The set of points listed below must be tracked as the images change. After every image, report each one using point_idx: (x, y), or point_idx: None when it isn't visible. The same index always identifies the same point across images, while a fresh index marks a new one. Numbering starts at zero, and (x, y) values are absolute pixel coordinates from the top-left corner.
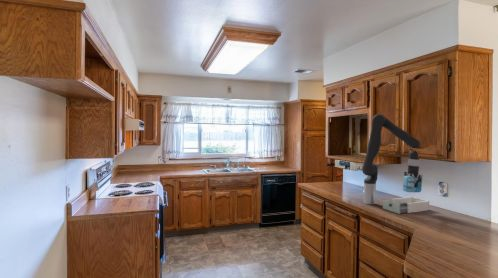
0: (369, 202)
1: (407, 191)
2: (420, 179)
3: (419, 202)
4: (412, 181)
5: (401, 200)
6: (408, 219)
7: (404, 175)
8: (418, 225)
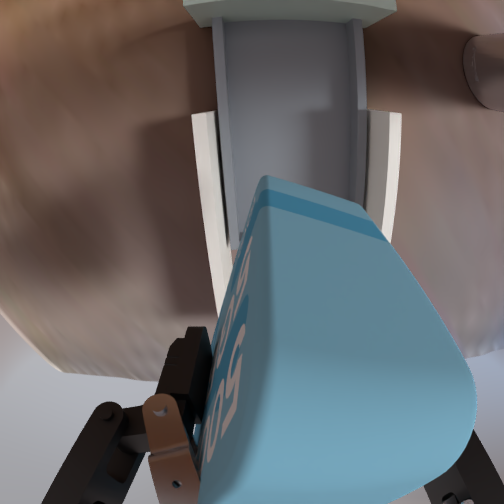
0: (477, 38)
1: (255, 191)
2: (108, 472)
3: (209, 261)
4: (213, 394)
5: (375, 218)
6: (90, 13)
7: (486, 453)
8: (15, 19)
